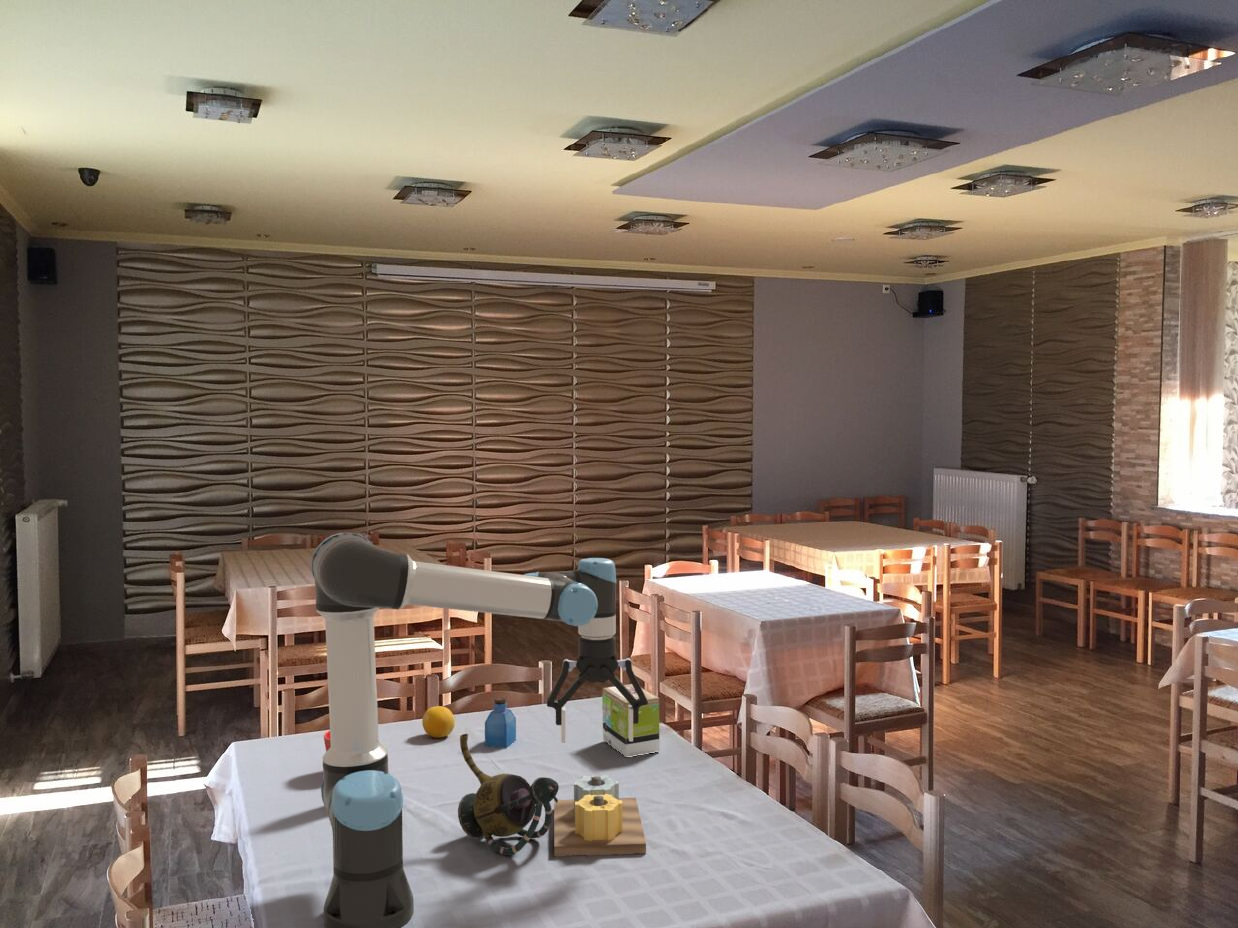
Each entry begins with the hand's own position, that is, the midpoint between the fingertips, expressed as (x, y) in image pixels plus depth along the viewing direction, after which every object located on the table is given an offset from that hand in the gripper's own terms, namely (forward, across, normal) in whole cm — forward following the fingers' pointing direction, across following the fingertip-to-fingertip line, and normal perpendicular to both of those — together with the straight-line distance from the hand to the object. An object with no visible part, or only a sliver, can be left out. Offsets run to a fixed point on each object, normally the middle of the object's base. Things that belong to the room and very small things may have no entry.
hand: (597, 740), depth 202 cm
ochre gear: (+19, 0, 0) cm, 19 cm away
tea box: (+21, -11, -58) cm, 62 cm away
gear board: (+21, 0, -6) cm, 22 cm away
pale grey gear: (+19, 0, -11) cm, 22 cm away
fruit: (+21, +40, -70) cm, 84 cm away
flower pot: (+21, +59, -44) cm, 77 cm away
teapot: (+14, +27, -6) cm, 30 cm away
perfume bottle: (+21, +23, -64) cm, 71 cm away
